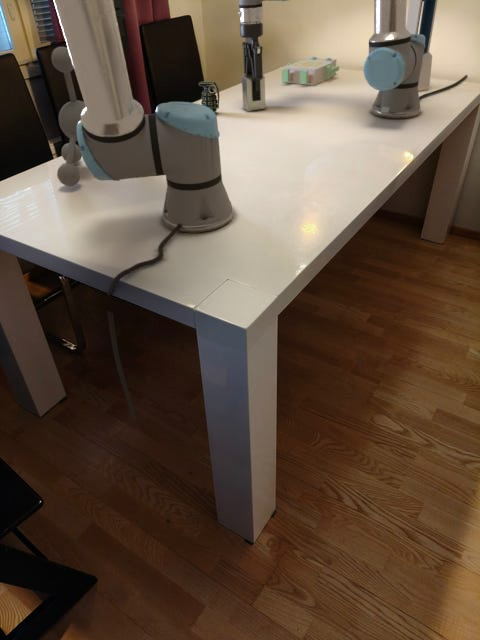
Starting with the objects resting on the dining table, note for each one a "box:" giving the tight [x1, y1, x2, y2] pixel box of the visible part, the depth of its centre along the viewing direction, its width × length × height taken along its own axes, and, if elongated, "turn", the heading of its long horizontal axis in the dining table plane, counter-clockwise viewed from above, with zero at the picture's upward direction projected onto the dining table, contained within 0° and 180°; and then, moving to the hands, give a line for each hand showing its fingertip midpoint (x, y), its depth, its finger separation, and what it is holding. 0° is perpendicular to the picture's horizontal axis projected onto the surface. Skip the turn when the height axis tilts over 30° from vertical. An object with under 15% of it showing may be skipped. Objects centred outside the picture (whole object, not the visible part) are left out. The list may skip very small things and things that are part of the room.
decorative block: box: [281, 56, 340, 86], centre depth 204 cm, size 26×6×20 cm
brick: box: [241, 74, 266, 112], centre depth 171 cm, size 7×5×11 cm
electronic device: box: [406, 0, 439, 92], centre depth 176 cm, size 12×8×30 cm, turn 105°
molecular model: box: [50, 46, 86, 187], centre depth 124 cm, size 24×22×30 cm
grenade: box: [197, 81, 220, 114], centre depth 169 cm, size 7×6×10 cm
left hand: (120, 48), depth 115 cm, fingers open, 13 cm apart
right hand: (253, 98), depth 173 cm, fingers closed on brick, 5 cm apart
